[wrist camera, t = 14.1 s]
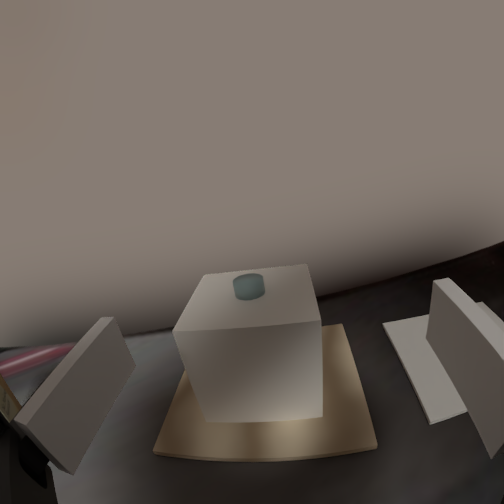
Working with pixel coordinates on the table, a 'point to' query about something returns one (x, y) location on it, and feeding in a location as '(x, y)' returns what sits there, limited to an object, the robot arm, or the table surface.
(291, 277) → the dust cover
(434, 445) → the table surface
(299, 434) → the birch board
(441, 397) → the grey mat
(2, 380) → the skincare box
